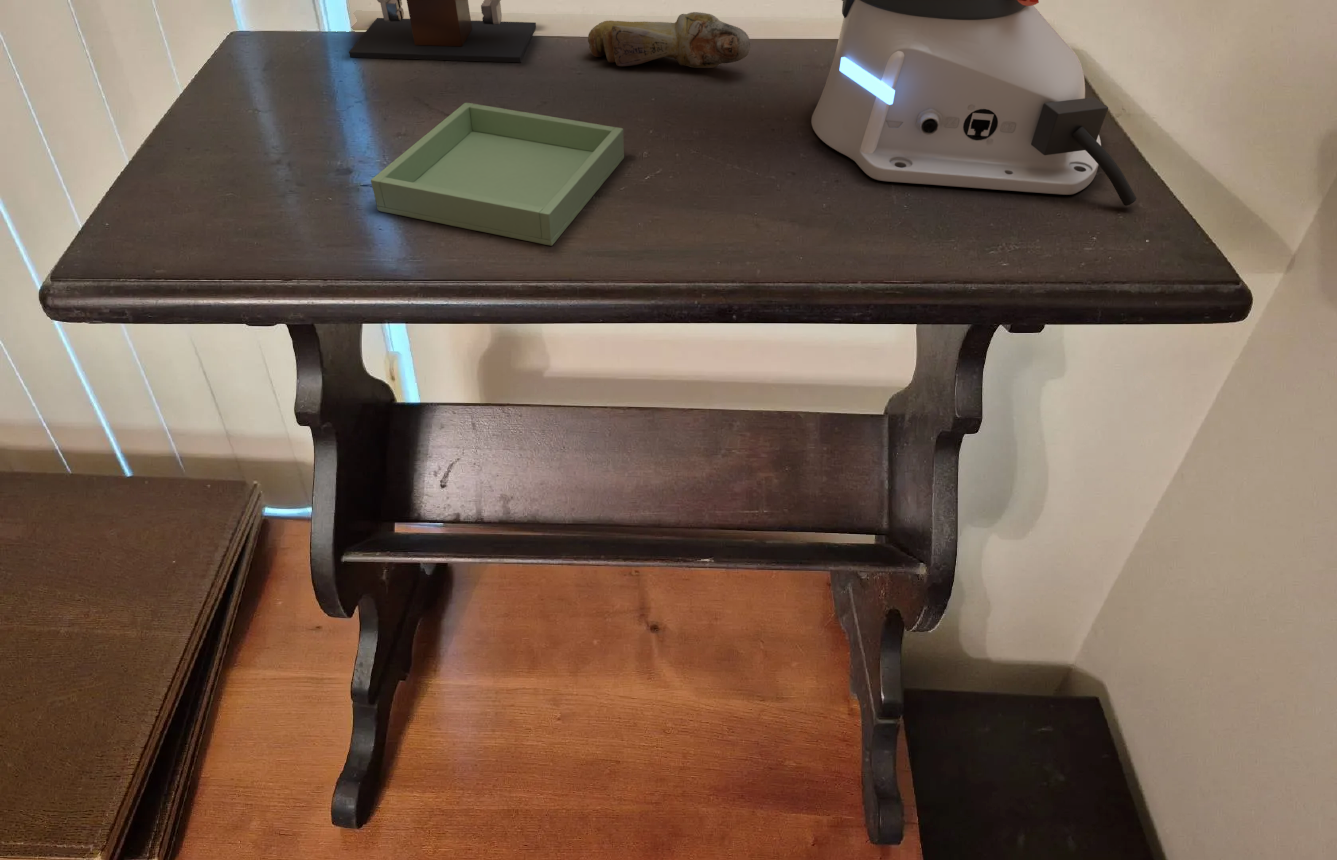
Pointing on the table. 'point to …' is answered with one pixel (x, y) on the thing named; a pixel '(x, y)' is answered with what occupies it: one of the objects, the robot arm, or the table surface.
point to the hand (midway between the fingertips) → (443, 20)
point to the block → (439, 22)
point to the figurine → (670, 41)
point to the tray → (501, 172)
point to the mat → (479, 46)
